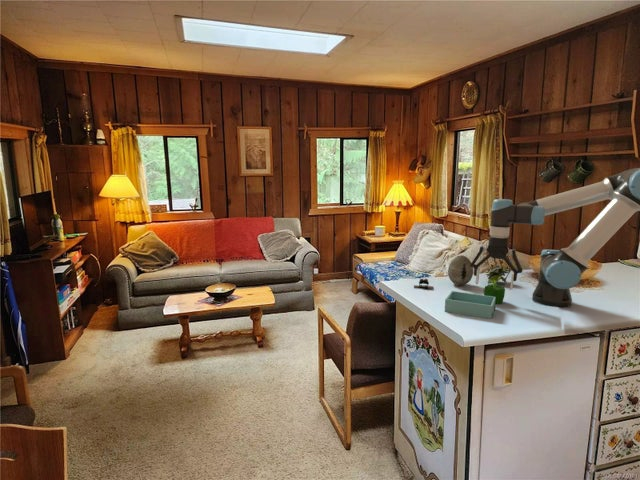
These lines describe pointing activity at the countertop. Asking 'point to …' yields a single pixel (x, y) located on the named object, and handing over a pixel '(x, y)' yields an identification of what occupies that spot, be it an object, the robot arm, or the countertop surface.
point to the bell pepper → (495, 292)
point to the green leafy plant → (497, 274)
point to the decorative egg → (460, 270)
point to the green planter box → (470, 304)
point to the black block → (423, 285)
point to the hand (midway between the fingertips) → (493, 285)
